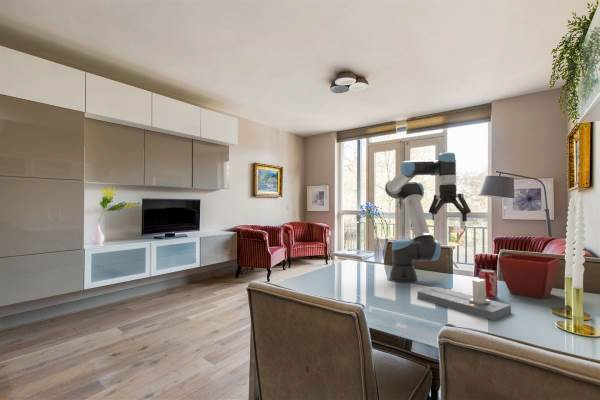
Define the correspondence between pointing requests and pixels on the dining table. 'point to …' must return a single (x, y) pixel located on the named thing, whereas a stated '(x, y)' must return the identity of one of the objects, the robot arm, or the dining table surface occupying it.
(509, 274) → the plant pot
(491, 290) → the soda can
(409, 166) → the robot arm
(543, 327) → the dining table surface
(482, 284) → the block
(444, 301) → the fader console
